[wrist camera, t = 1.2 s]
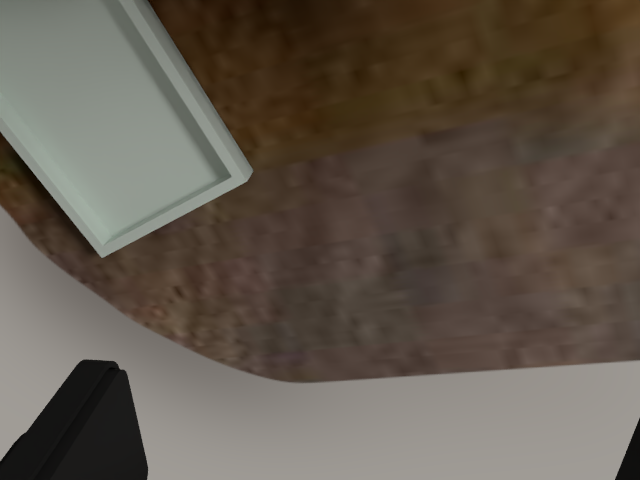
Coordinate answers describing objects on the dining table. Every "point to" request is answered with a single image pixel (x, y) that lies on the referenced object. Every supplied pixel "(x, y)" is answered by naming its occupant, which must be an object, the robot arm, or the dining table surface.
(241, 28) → the dining table surface
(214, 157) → the tray
